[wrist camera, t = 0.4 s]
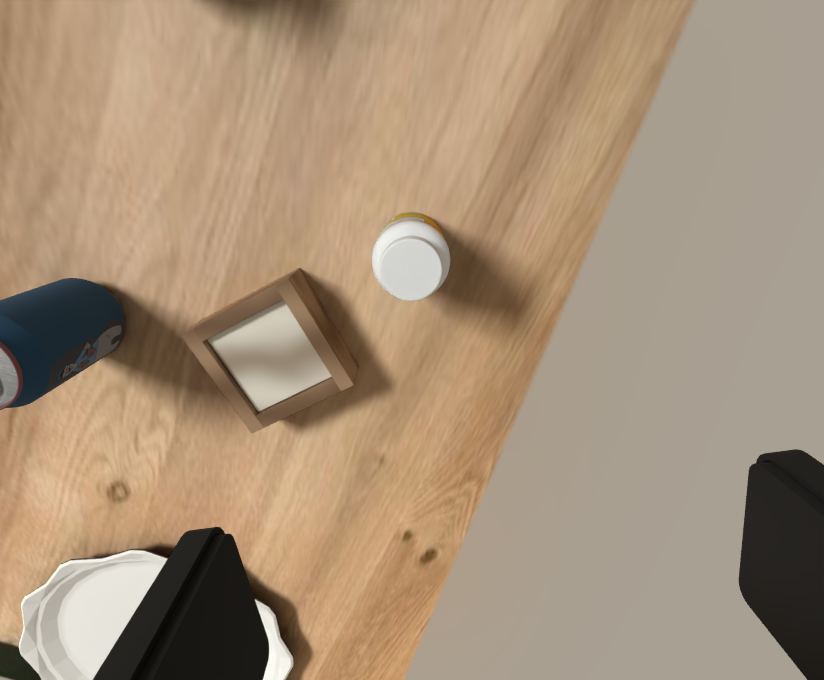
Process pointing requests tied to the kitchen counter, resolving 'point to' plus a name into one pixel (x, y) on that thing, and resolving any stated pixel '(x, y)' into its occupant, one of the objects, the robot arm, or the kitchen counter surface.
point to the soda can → (54, 336)
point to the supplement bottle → (411, 256)
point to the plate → (104, 616)
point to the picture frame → (273, 352)
